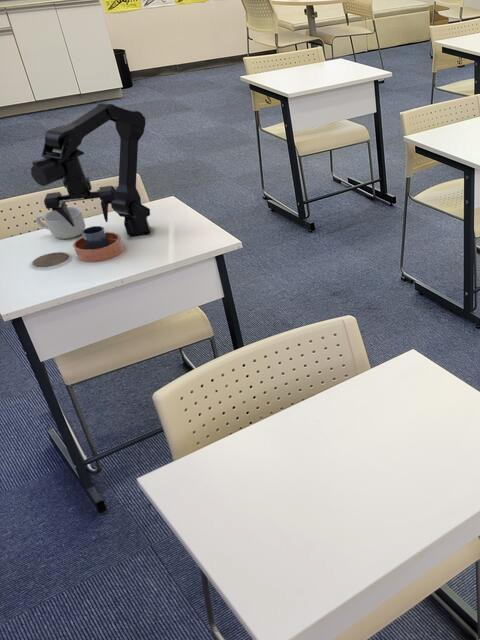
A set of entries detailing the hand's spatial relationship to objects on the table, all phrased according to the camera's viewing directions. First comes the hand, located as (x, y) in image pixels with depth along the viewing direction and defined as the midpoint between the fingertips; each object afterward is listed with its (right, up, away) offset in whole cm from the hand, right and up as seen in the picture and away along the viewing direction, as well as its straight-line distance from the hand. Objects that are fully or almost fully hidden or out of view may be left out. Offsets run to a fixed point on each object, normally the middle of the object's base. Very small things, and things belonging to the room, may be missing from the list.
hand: (90, 223), depth 211 cm
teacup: (-18, -1, +17) cm, 25 cm away
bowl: (0, -8, +6) cm, 10 cm away
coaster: (-13, -11, +2) cm, 17 cm away
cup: (0, -8, +5) cm, 10 cm away
